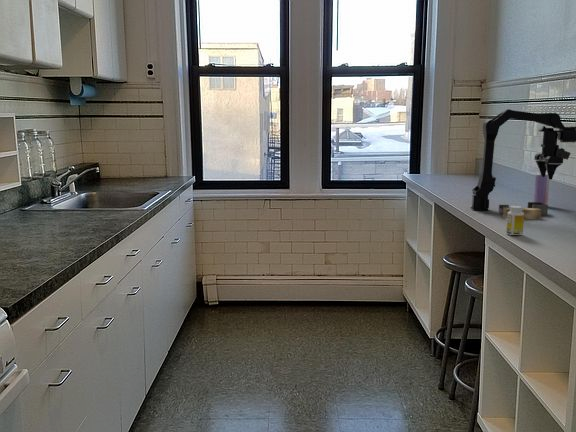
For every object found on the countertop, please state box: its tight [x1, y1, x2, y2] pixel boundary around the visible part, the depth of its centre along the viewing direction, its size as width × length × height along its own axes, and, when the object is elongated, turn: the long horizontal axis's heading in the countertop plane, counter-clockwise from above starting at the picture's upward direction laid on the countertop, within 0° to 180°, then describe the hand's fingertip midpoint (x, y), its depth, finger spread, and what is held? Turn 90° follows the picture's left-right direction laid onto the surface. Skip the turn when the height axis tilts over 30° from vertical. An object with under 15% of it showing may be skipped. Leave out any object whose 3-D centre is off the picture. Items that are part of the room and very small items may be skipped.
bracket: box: [526, 201, 549, 217], centre depth 248 cm, size 6×8×4 cm
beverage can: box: [533, 172, 550, 206], centre depth 266 cm, size 6×6×15 cm
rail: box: [502, 207, 542, 220], centre depth 239 cm, size 14×4×4 cm, turn 86°
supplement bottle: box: [505, 205, 525, 236], centre depth 207 cm, size 6×6×10 cm
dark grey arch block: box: [498, 204, 511, 216], centre depth 249 cm, size 4×8×3 cm, turn 174°
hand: (546, 178), depth 253 cm, fingers open, 9 cm apart
